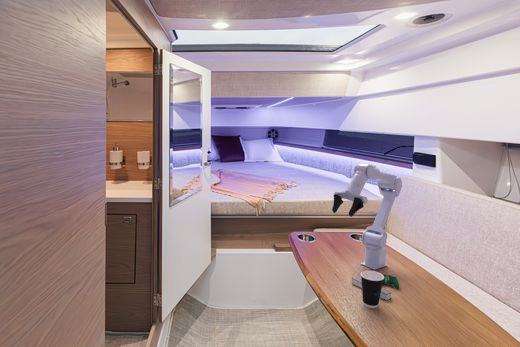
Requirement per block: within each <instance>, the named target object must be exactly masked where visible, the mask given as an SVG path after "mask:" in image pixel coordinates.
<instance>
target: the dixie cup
mask: <svg viewBox="0 0 520 347" xmlns="http://www.w3.org/2000/svg"><path fill="white" fill-rule="evenodd" d="M383 275H384V274H382V273H381V272H378V271H375V270H362V271H361V272H360V276H361V277H360V278H361V280H362V288H361V295H362V303H363V305H364V307H366V308H368V309H369V308H370V309H376V308H378V307H379V303H380V300H381V298H380V294H381V288H383V284H382V283H383V279H384V276H383Z"/></svg>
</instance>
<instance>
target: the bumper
mask: <svg viewBox="0 0 520 347" xmlns="http://www.w3.org/2000/svg"><path fill="white" fill-rule="evenodd" d="M351 284H352V285H354V286H356V287H358V288H360V289H362V280H361V277H359V276H355V277H352V278H351ZM390 298H391V299H392V292H391V291H390V290H388V289H385V288H383V287H382V288H381V294H380V299H382V300H384V299H385V300H384V301H388V300H390Z"/></svg>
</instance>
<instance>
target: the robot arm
mask: <svg viewBox="0 0 520 347" xmlns="http://www.w3.org/2000/svg"><path fill="white" fill-rule="evenodd" d="M353 170H354V171H353V174H352V178H351V180H350V181H349V183H348V186H346V189H345V191H344V190H343V191H335V192H334V193H333V205H332V208H331V211H332V213H333V214H336V213H337V212H338V209H339V208H340V207H341V205H342V204H343V203H344V201H343V199H344V200H347V201H350V202H352V205H351V207H350V209H349V212H348V215H349V217H350V218H352V217H354V215H355V214H356V213H357V212H358V211H360V210H361V209H364V206H365V205H364V204H367V203H368V200H369V199H368V198H367V196H365V195H364V196H363V195H361V193H362V191H363V189H364V187H365V185H366V183H367V181H368V180H371V181H376V180H377V187H378V190H379V193H380V194H381V195H382V196H383V197H382V200H381V203H380V206H379V208H378V211H377V213H376V216H375V219H374V221H373V223H372V225H370V226H368V227H366V228H365V230H364V231H363V233H362V235H361V242H362V244H363V246H364V247H365V249H364V261H363V262H360V265H362V266H364V267H367V268H369V269H372V270H373V271H375V270H378V269H381V268H384V267H387V263H386V260H387V259H386V258H387V253H386V252H387V251H386V249H385V247H386V245H387V240H388V233H387V232H386V231H385V226H386V225H387V221H388V219H389V216H390V213H391V210H392V208H393V206H394V202H395V199H396V198H397V197H399V196H400V193H401V191H402V190H401V189H402V187H403V182H402V178H401V177H399V176H397V175H396V174H395V175H394V174H391V173H387V172H383V171H381V170H380V169H379V168H378V167H377V166H376V165H373V164H370V163H369V164H367V163H366V164H365V163H364V164H362V163H359V164H357V165H355V166H354V169H353Z"/></svg>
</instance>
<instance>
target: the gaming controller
mask: <svg viewBox="0 0 520 347" xmlns="http://www.w3.org/2000/svg"><path fill="white" fill-rule="evenodd" d="M382 275H383V276H384V279H383V283H382V285H388V286H393V288H394V289H395V290H400V283H399V279H398V278H397V276H396V274H392V275H387V274H382Z"/></svg>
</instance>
